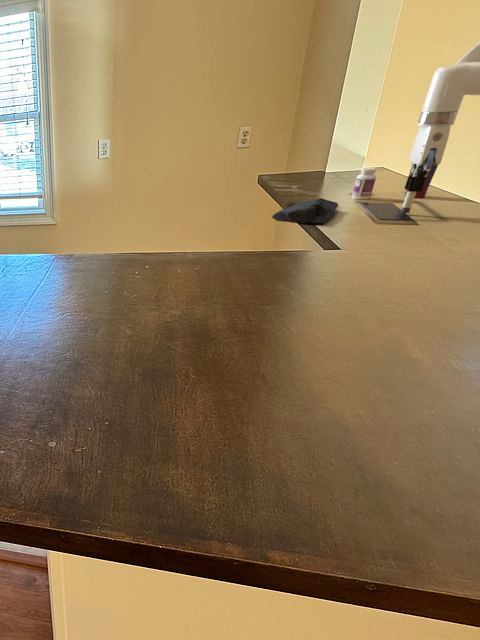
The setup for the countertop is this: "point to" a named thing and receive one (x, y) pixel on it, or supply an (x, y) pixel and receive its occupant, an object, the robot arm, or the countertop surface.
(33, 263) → the countertop surface
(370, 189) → the pill bottle
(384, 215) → the tablet
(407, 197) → the stylus
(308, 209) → the dark slate chunk
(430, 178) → the cup
